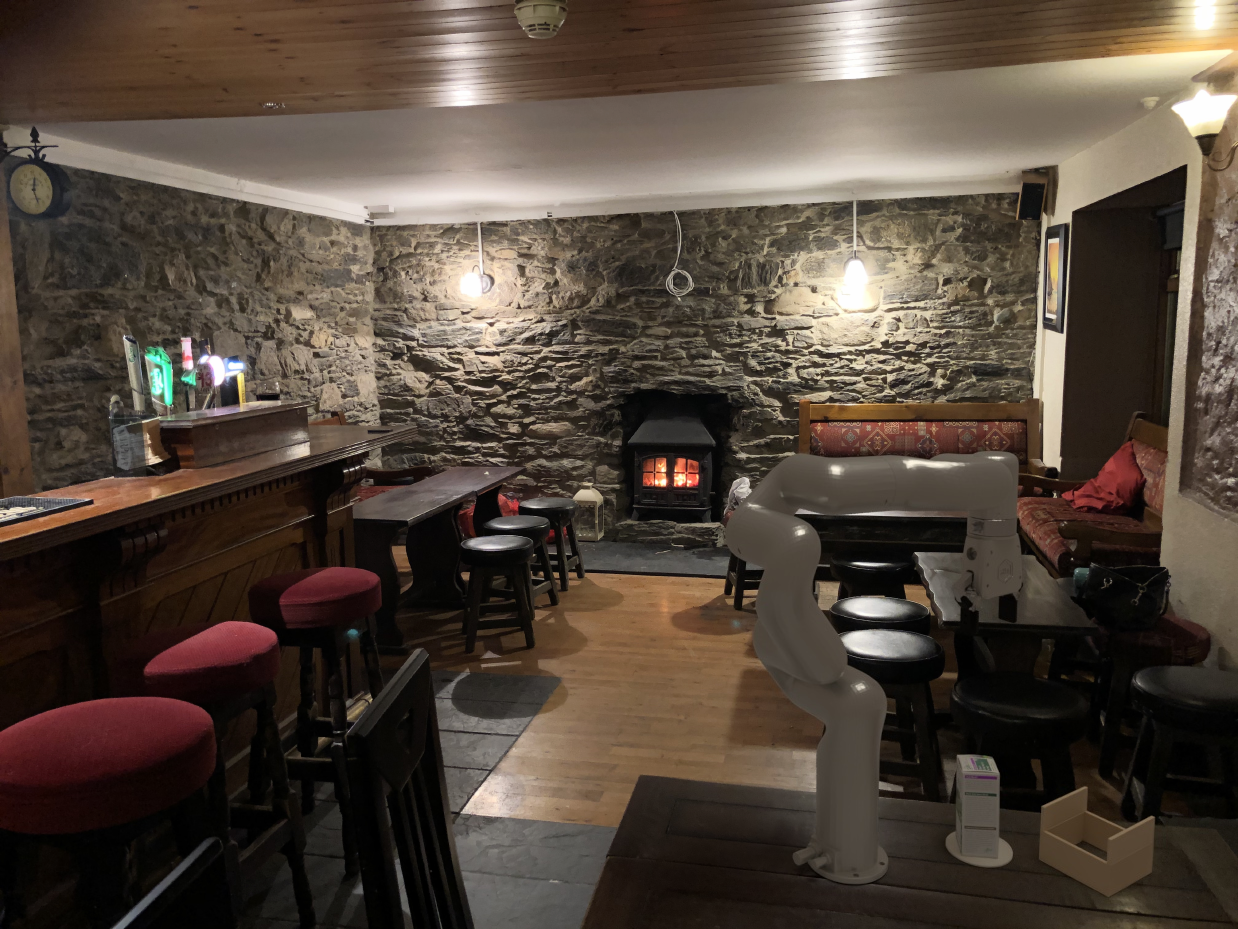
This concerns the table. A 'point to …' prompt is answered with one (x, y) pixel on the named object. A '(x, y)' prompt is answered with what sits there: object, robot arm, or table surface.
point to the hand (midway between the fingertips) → (988, 626)
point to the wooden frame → (1094, 844)
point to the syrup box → (977, 806)
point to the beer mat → (1003, 857)
